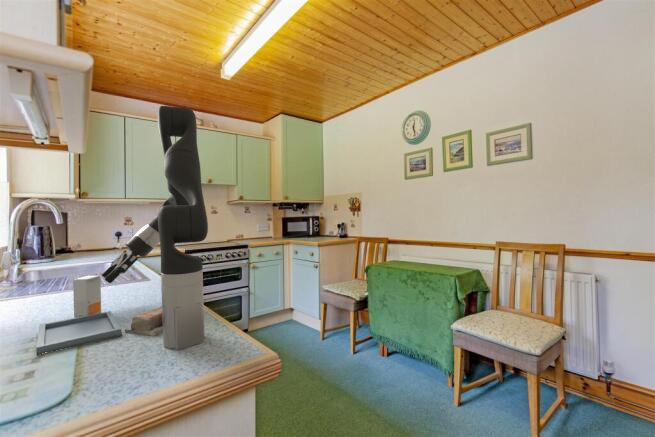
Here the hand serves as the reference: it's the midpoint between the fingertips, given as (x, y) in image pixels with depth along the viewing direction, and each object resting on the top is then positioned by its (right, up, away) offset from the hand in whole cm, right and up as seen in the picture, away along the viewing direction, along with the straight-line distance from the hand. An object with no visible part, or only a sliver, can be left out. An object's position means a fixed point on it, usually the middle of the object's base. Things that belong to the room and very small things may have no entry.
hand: (105, 279), depth 100 cm
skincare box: (-3, -11, -3) cm, 12 cm away
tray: (+6, -11, -18) cm, 22 cm away
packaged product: (+25, -11, -10) cm, 29 cm away
